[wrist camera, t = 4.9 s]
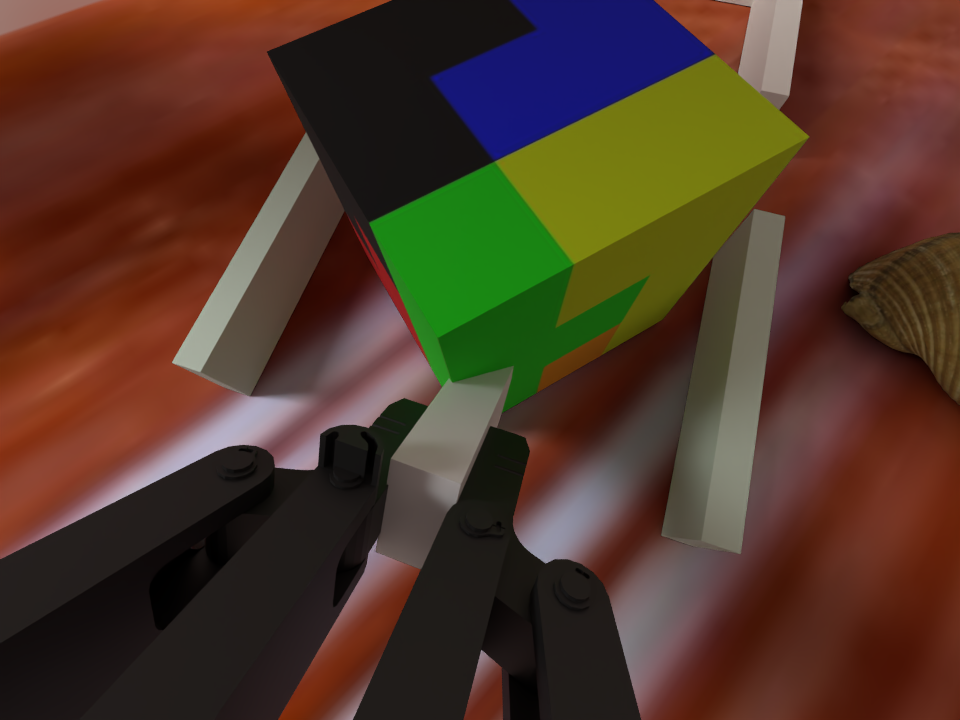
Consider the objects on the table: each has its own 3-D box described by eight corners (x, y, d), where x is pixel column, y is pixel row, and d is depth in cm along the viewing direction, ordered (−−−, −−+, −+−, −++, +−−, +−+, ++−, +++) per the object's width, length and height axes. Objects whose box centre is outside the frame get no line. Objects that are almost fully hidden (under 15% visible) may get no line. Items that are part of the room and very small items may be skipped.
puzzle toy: (540, 170, 23) (570, -73, 14) (662, 319, 20) (809, 136, 10) (367, 256, 22) (267, 52, 12) (468, 432, 18) (437, 337, 9)
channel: (225, 388, 20) (171, 362, 16) (345, 162, 24) (321, 105, 20) (692, 546, 17) (740, 553, 14) (738, 263, 21) (785, 216, 18)
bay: (399, 78, 25) (385, 13, 22) (469, -57, 29) (467, -130, 26) (746, 156, 23) (789, 96, 20) (774, -3, 27) (813, -76, 23)
